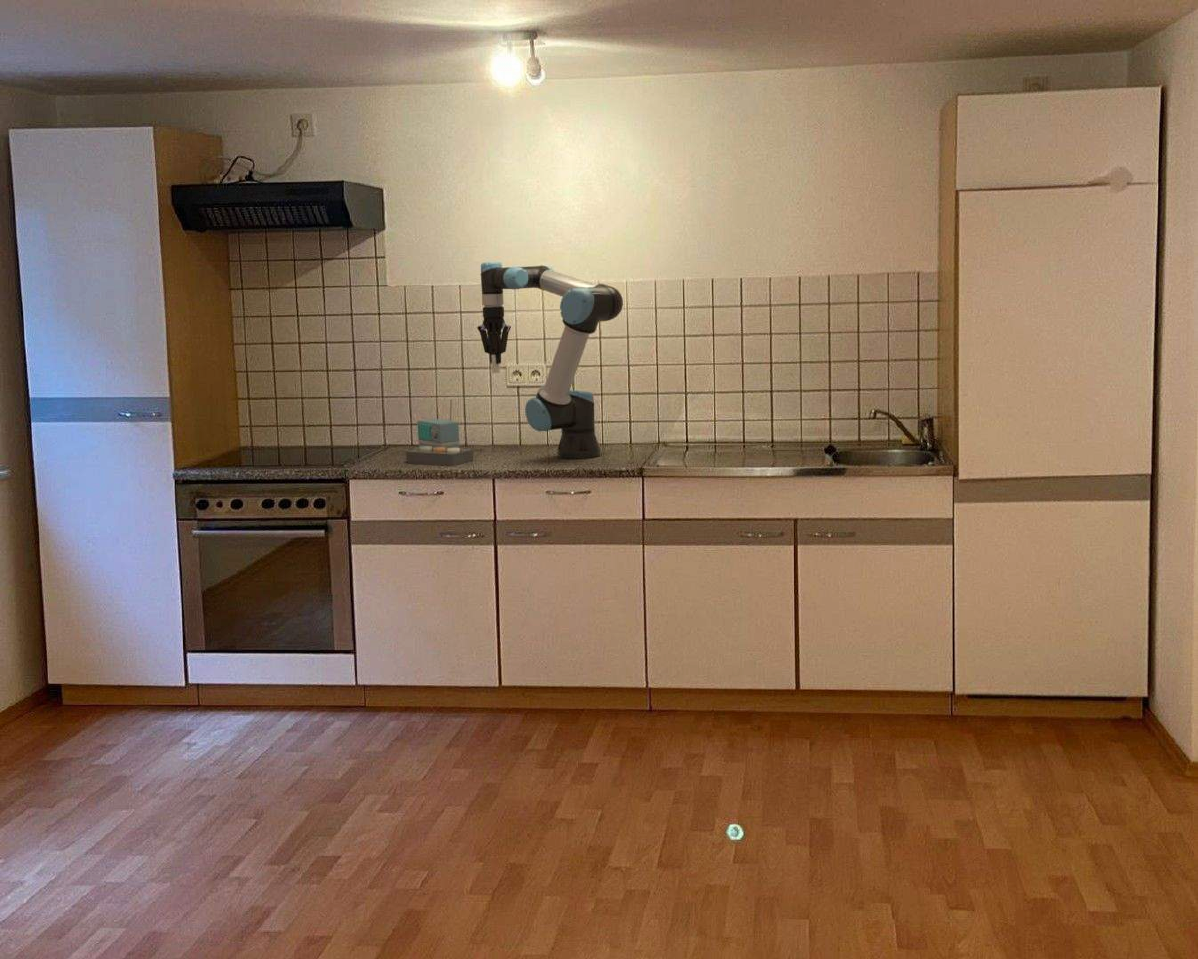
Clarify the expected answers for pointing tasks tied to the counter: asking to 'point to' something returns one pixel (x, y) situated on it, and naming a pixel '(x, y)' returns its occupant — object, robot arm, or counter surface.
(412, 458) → the grey piece
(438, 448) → the button terracotta
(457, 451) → the button ivory
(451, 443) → the radio
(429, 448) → the button sage
